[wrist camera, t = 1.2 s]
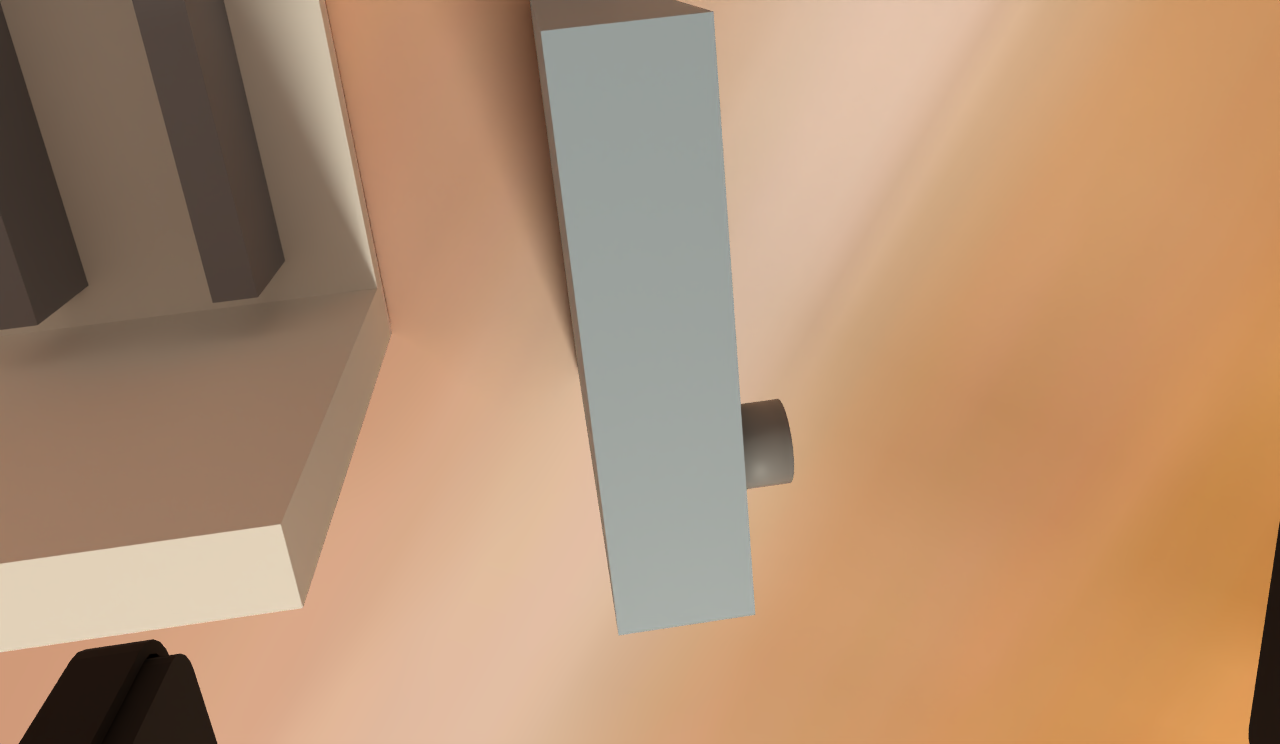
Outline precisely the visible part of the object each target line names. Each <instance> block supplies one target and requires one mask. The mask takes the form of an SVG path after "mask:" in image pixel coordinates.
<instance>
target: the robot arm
mask: <svg viewBox="0 0 1280 744" xmlns="http://www.w3.org/2000/svg"><path fill="white" fill-rule="evenodd" d="M1249 743H1250V744H1280V523H1279V530H1278V537H1277V543H1276V550H1275V557H1274V564H1273V570H1272V577H1271V584H1270V590H1269V597H1268V604H1267V610H1266V617H1265V624H1264V630H1263V637H1262V644H1261V650H1260V657H1259V664H1258V671H1257V677H1256V684H1255V691H1254V697H1253V704H1252V711H1251V717H1250V724H1249ZM19 744H217V741H216V738H215V735H214V732H213V728H212V725H211V722H210V719H209V716H208V713H207V710H206V707H205V703H204V700H203V697H202V694H201V691H200V688H199V685H198V682H197V678H196V675H195V672H194V669H193V667H192V665H191V662H190V660H189V659H188V658H187V657H186V655H183V654H175V655H169V654H168V652H167V650H166V648H165V647H164V646H163V645H162V644H161V642H159V641H156V640H154V639H153V640H146V641H139V642H133V643H126V644H119V645H113V646H106V647H99V648H92V649H86V650H83V651H80V652H78V653H77V654H76V655H75V656H74V657H73V658H72V660H71V661H70V662H69V664H68V666H67V667H66V669H65V670H64V672H63V674H62V675H61V677H60V678H59V680H58V682H57V683H56V685H55V686H54V688H53V690H52V691H51V693H50V694H49V696H48V698H47V699H46V701H45V702H44V704H43V706H42V707H41V709H40V710H39V712H38V714H37V715H36V717H35V719H34V720H33V722H32V723H31V725H30V727H29V728H28V730H27V731H26V733H25V735H24V736H23V738H22V739H21V741H20V743H19Z"/></svg>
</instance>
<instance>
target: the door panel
mask: <svg viewBox="0 0 1280 744" xmlns="http://www.w3.org/2000/svg"><path fill="white" fill-rule="evenodd" d="M530 8H531V15H532V23H533V30H534V38H535V45H536V53H537V61H538V68H539V76H540V83H541V91H542V99H543V106H544V114H545V121H546V129H547V137H548V144H549V152H550V159H551V167H552V175H553V182H554V190H555V197H556V205H557V213H558V220H559V228H560V235H561V243H562V251H563V258H564V266H565V273H566V281H567V289H568V296H569V304H570V311H571V319H572V327H573V334H574V342H575V349H576V357H577V365H578V372H579V379H580V386H581V392H582V399H583V406H584V412H585V419H586V425H587V432H588V438H589V445H590V451H591V458H592V464H593V471H594V477H595V484H596V490H597V497H598V504H599V510H600V517H601V523H602V530H603V536H604V543H605V549H606V556H607V562H608V569H609V575H610V582H611V589H612V595H613V602H614V608H615V615H616V621H617V628H618V634H619V635H624V634H631V633H637V632H644V631H650V630H657V629H664V628H670V627H677V626H684V625H690V624H697V623H704V622H710V621H717V620H723V619H730V618H737V617H743V616H750V615H755V605H754V590H753V576H752V561H751V547H750V533H749V518H748V504H747V489H751V488H758V487H765V486H772V485H779V484H786V483H791V482H792V480H793V474H794V456H793V446H792V439H791V433H790V428H789V423H788V419H787V416H786V412H785V409H784V407H783V405H782V403H781V401H780V400H779V399H774V400H767V401H760V402H753V403H745V404H741V403H740V388H739V374H738V360H737V345H736V331H735V316H734V302H733V288H732V273H731V259H730V244H729V230H728V216H727V201H726V187H725V172H724V158H723V143H722V129H721V115H720V100H719V86H718V71H717V57H716V43H715V28H714V14H713V11H710V10H706V9H703V8H699V7H696V6H693V5H689V4H686V3H682V2H679V1H676V0H530Z"/></svg>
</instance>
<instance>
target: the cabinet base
mask: <svg viewBox="0 0 1280 744" xmlns="http://www.w3.org/2000/svg"><path fill="white" fill-rule="evenodd" d="M391 334H392V331H391V326H390V321H389V316H388V311H387V306H386V302H385V297H384V292H383V287H382V282H381V277H380V272H379V267H378V262H377V257H376V252H375V247H374V242H373V237H372V232H371V227H370V222H369V217H368V212H367V207H366V202H365V197H364V192H363V187H362V182H361V177H360V172H359V167H358V162H357V157H356V152H355V148H354V143H353V138H352V133H351V128H350V123H349V118H348V113H347V108H346V103H345V98H344V93H343V88H342V83H341V78H340V73H339V68H338V63H337V58H336V53H335V48H334V43H333V38H332V33H331V28H330V23H329V18H328V13H327V8H326V3H325V0H0V652H5V651H12V650H19V649H26V648H33V647H40V646H46V645H53V644H60V643H67V642H74V641H81V640H87V639H94V638H101V637H108V636H115V635H122V634H129V633H135V632H142V631H149V630H156V629H163V628H170V627H177V626H183V625H190V624H197V623H204V622H211V621H218V620H224V619H231V618H238V617H245V616H252V615H259V614H266V613H272V612H279V611H286V610H293V609H300V608H303V606H304V603H305V600H306V597H307V594H308V591H309V587H310V584H311V581H312V578H313V575H314V572H315V569H316V566H317V563H318V560H319V557H320V553H321V550H322V547H323V544H324V541H325V538H326V535H327V532H328V529H329V526H330V522H331V519H332V516H333V513H334V510H335V507H336V504H337V501H338V498H339V495H340V492H341V488H342V485H343V482H344V479H345V476H346V473H347V470H348V467H349V464H350V461H351V458H352V454H353V451H354V448H355V445H356V442H357V439H358V436H359V433H360V430H361V427H362V424H363V420H364V417H365V414H366V411H367V408H368V405H369V402H370V399H371V396H372V393H373V389H374V386H375V383H376V380H377V377H378V374H379V371H380V368H381V365H382V362H383V359H384V355H385V352H386V349H387V346H388V343H389V340H390V337H391Z"/></svg>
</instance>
